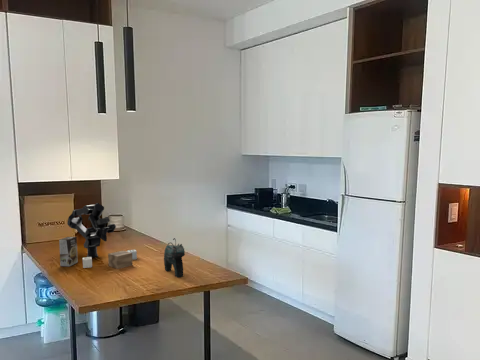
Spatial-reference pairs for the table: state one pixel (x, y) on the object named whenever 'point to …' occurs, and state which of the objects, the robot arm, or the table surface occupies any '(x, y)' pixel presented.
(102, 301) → the table surface
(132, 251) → the grey numeral block
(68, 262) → the coffee box
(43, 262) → the table surface
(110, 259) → the plain walnut block
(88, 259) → the offwhite numeral block
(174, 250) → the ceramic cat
